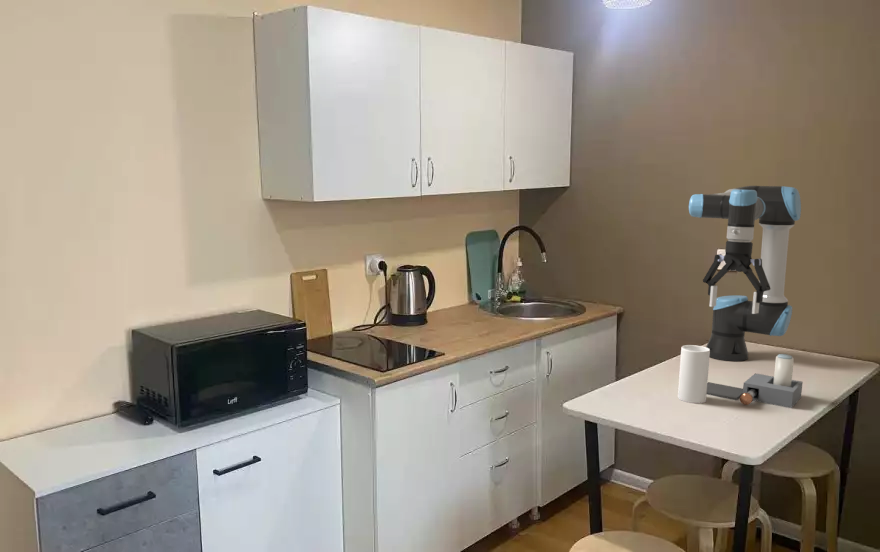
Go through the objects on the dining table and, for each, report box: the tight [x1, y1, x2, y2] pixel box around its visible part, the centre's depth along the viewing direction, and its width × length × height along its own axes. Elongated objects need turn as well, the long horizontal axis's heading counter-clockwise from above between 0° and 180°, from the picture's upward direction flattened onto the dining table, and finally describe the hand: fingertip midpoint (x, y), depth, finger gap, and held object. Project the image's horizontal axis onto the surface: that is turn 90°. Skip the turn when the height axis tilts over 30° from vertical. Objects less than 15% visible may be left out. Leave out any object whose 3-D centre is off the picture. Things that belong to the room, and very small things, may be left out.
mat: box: [706, 381, 743, 401], centre depth 230 cm, size 12×12×1 cm
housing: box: [742, 373, 804, 409], centre depth 224 cm, size 14×14×5 cm
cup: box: [677, 344, 711, 404], centre depth 220 cm, size 8×8×16 cm
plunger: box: [739, 388, 758, 406], centre depth 219 cm, size 10×3×3 cm, turn 143°
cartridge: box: [773, 353, 795, 387], centre depth 223 cm, size 5×5×14 cm
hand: (733, 309), depth 222 cm, fingers open, 13 cm apart
